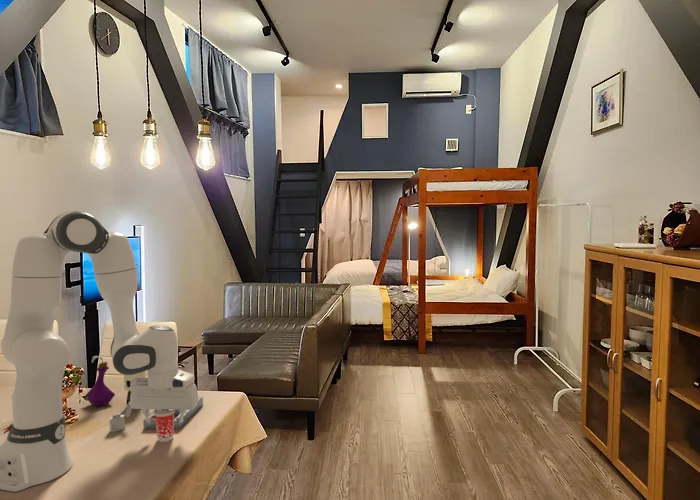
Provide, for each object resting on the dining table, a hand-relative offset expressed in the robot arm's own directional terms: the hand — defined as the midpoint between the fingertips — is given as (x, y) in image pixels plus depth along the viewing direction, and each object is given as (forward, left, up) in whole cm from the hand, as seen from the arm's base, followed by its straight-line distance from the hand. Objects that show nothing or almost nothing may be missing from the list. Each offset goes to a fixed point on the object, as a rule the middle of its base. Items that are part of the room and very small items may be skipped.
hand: (164, 422), depth 144 cm
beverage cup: (0, 0, -5) cm, 5 cm away
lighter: (-17, +6, -5) cm, 19 cm away
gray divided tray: (-4, +16, -5) cm, 17 cm away
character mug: (-22, +24, -5) cm, 33 cm away
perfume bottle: (-36, +25, -5) cm, 44 cm away
